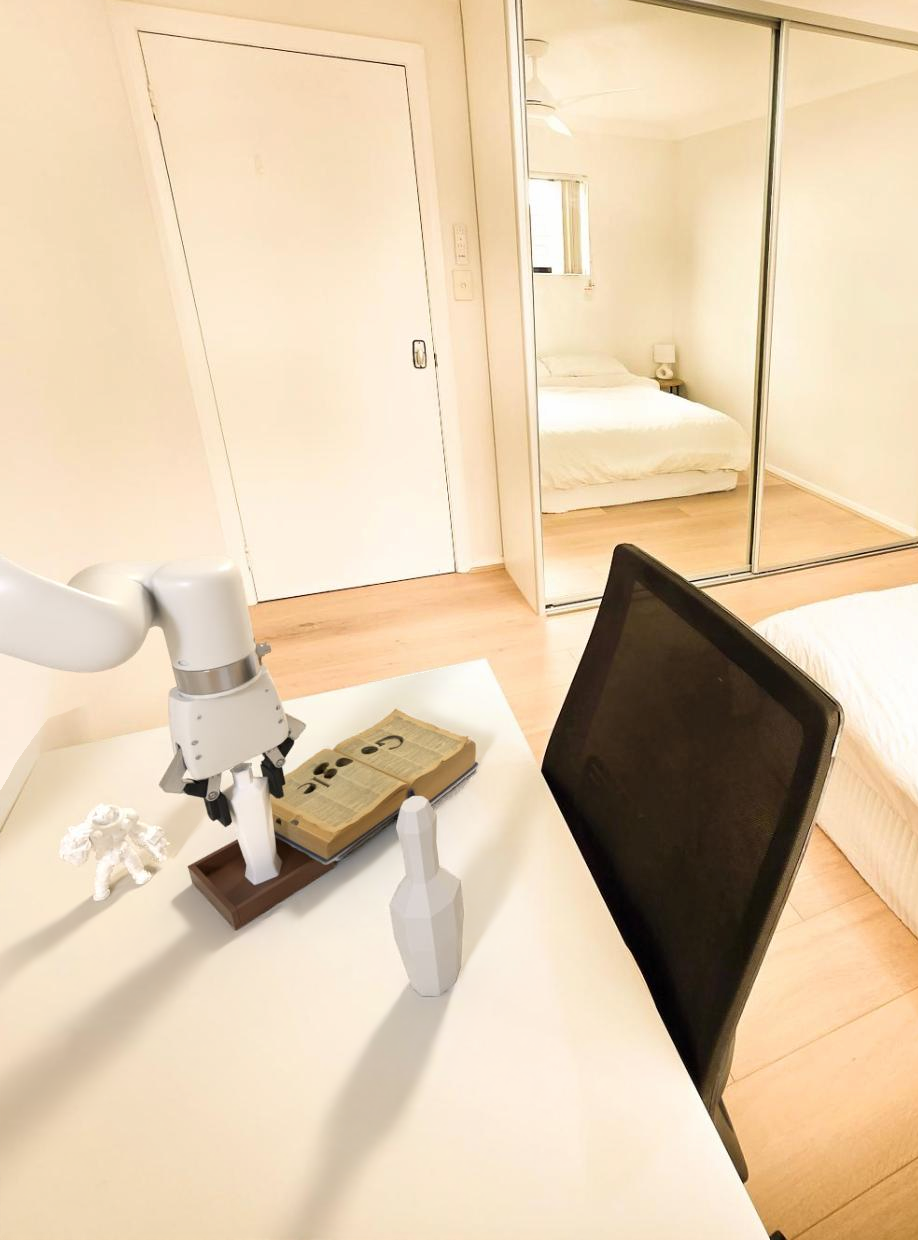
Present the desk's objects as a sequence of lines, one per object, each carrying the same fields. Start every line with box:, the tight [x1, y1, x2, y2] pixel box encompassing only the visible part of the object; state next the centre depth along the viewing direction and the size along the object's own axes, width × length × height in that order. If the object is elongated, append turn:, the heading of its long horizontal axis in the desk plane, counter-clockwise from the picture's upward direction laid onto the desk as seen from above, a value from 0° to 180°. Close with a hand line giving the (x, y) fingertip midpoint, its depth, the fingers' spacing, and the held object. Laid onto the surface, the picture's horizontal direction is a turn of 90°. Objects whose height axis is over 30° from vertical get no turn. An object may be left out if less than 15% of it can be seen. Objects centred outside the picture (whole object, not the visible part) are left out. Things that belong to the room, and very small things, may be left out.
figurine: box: [58, 803, 170, 902], centre depth 79 cm, size 10×5×12 cm, turn 173°
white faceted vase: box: [221, 762, 282, 885], centre depth 81 cm, size 5×4×15 cm
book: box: [270, 708, 479, 865], centre depth 95 cm, size 25×17×6 cm
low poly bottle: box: [388, 796, 465, 997], centre depth 68 cm, size 6×6×22 cm
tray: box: [187, 837, 336, 931], centre depth 83 cm, size 11×11×3 cm
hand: (249, 805), depth 80 cm, fingers open, 5 cm apart
